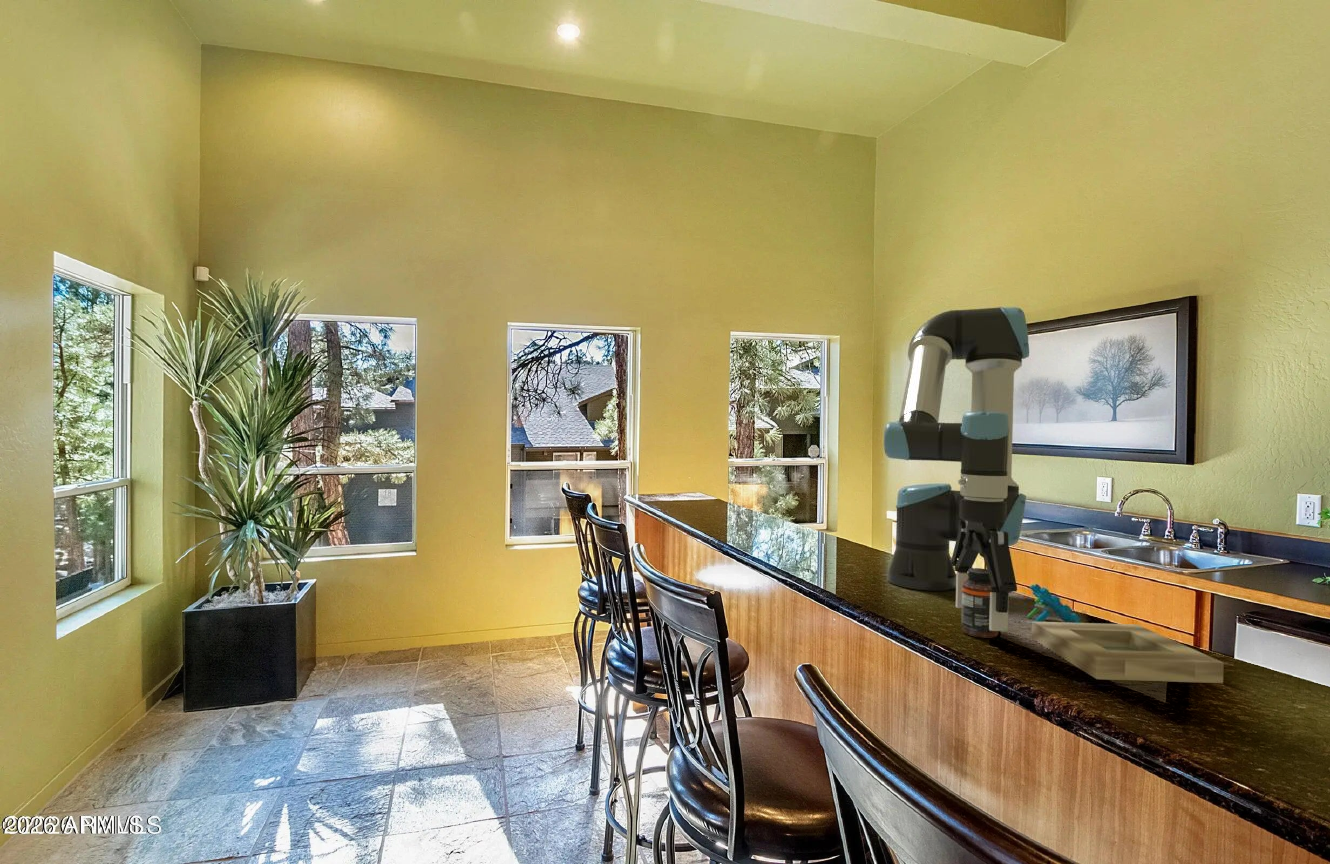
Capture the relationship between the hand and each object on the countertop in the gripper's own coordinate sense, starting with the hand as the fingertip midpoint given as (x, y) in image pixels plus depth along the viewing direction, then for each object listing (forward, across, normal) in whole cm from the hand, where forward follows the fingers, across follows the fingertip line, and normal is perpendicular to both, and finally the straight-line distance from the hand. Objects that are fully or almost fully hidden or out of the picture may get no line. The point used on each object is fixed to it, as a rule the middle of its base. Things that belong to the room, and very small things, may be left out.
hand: (980, 618), depth 115 cm
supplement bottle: (+3, 0, 0) cm, 3 cm away
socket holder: (+3, +11, +17) cm, 20 cm away
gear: (+3, -7, +17) cm, 18 cm away
